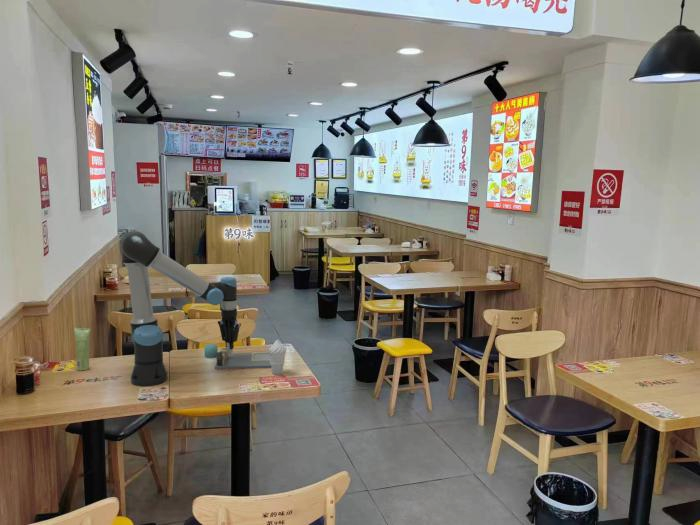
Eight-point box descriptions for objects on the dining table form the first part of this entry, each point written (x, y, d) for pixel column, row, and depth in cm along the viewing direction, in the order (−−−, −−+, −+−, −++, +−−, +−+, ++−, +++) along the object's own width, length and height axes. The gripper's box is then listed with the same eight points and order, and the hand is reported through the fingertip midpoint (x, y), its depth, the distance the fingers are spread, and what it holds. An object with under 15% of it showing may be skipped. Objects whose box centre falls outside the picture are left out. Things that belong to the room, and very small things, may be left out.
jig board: (215, 369, 245) (215, 365, 244) (219, 355, 264) (219, 352, 264) (279, 367, 249) (279, 363, 249) (278, 354, 269) (278, 351, 268)
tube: (89, 366, 244) (87, 326, 241) (92, 369, 240) (90, 328, 237) (75, 368, 240) (74, 327, 237) (78, 371, 236) (76, 330, 234)
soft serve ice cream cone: (284, 376, 237) (285, 343, 235) (266, 376, 237) (266, 342, 235) (287, 370, 245) (287, 338, 243) (269, 370, 245) (270, 337, 243)
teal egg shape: (203, 358, 260) (203, 347, 259) (205, 354, 266) (205, 344, 265) (216, 358, 261) (216, 347, 260) (218, 354, 267) (218, 343, 266)
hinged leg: (222, 365, 245) (222, 353, 245) (216, 365, 245) (215, 353, 245) (227, 356, 260) (227, 344, 259) (221, 356, 259) (221, 344, 259)
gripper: (244, 308, 254) (244, 355, 257) (223, 305, 260) (224, 351, 263) (234, 311, 248) (235, 359, 251) (213, 308, 253) (214, 355, 257)
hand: (229, 354), depth 257 cm, fingers closed
